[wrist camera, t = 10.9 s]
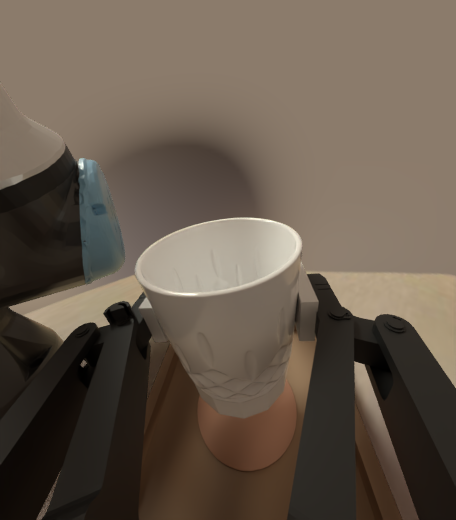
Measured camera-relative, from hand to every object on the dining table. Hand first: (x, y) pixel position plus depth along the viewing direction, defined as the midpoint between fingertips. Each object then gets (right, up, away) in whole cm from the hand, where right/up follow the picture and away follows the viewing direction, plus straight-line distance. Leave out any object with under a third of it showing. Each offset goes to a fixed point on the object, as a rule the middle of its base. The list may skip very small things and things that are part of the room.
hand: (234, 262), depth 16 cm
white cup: (0, -8, -1) cm, 8 cm away
